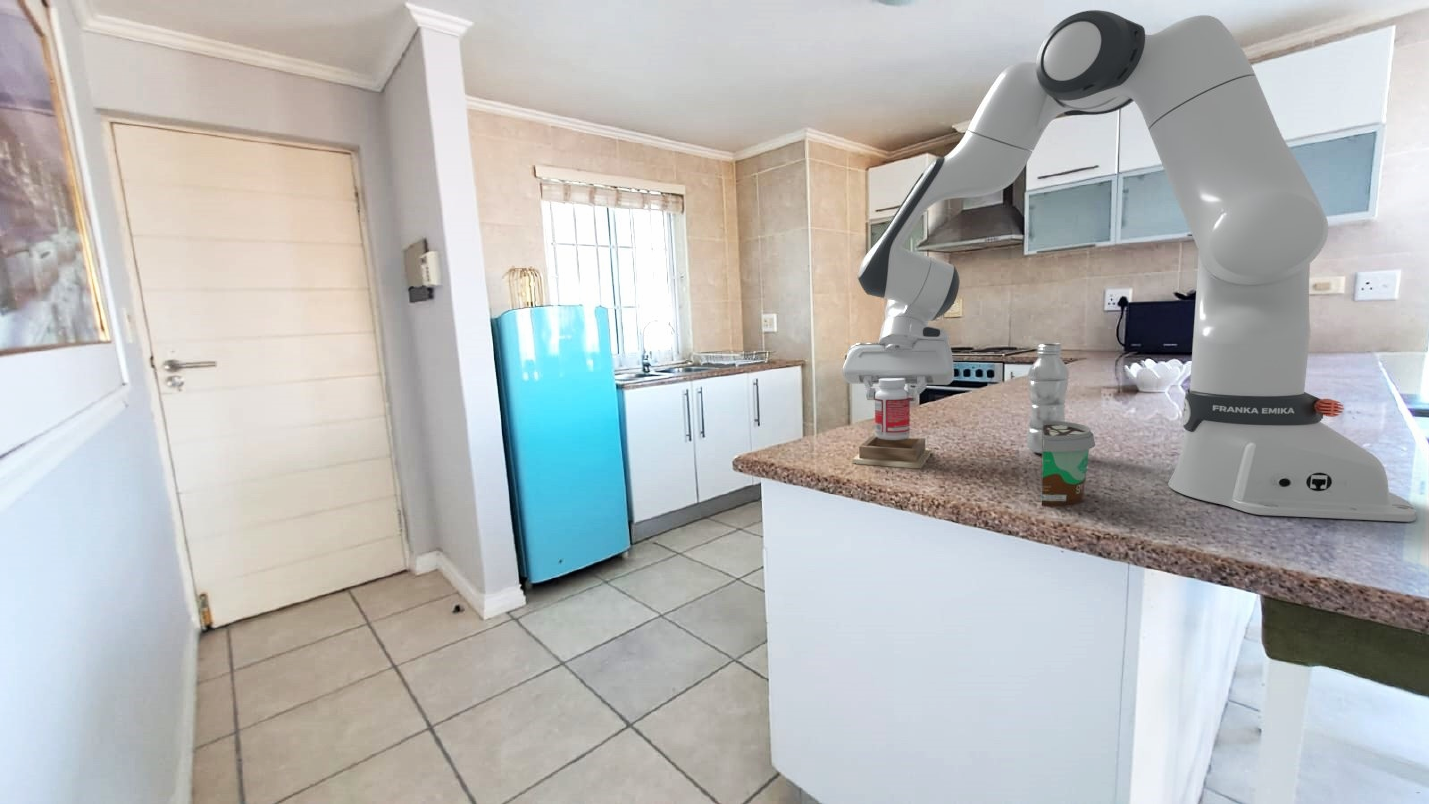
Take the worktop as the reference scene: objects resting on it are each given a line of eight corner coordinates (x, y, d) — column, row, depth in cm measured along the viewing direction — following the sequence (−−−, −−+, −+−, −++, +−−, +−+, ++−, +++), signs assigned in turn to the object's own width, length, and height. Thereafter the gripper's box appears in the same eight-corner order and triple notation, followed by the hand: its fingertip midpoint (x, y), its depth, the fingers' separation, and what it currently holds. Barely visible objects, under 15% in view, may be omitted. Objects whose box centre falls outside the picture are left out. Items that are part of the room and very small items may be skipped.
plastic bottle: (1034, 458, 99) (1037, 346, 96) (1020, 449, 105) (1022, 344, 102) (1074, 457, 97) (1078, 344, 95) (1057, 448, 104) (1060, 342, 101)
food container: (1097, 514, 71) (1100, 438, 70) (1041, 509, 74) (1043, 436, 73) (1089, 487, 82) (1091, 421, 80) (1040, 483, 85) (1042, 419, 83)
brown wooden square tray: (931, 452, 106) (931, 437, 106) (920, 468, 96) (920, 451, 96) (869, 448, 112) (868, 434, 112) (852, 463, 102) (852, 447, 102)
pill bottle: (915, 436, 104) (915, 377, 102) (899, 442, 99) (899, 381, 98) (885, 432, 108) (885, 376, 106) (868, 438, 104) (868, 379, 102)
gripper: (846, 333, 112) (832, 387, 105) (955, 329, 102) (948, 389, 95) (852, 353, 116) (839, 407, 109) (958, 352, 106) (951, 410, 99)
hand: (891, 399), depth 102 cm, fingers closed on pill bottle, 6 cm apart
